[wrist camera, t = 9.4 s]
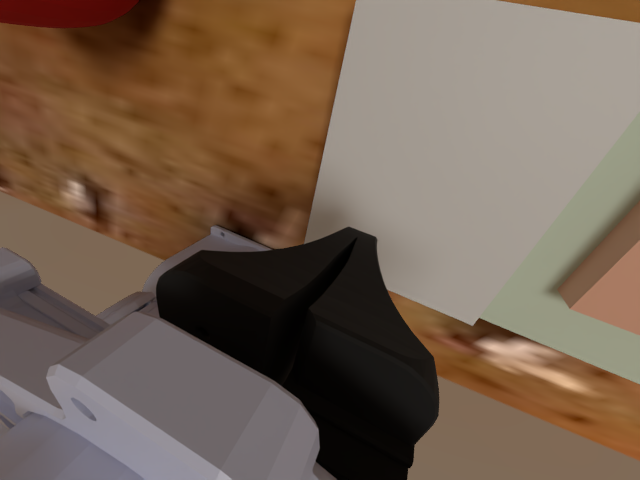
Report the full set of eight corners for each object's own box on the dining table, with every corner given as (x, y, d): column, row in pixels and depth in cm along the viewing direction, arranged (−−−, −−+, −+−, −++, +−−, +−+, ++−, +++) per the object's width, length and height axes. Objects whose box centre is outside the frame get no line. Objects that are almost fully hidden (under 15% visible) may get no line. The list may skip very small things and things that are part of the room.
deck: (316, 237, 23) (301, 253, 21) (373, -1, 15) (360, -21, 12) (468, 298, 20) (472, 325, 18) (646, 47, 12) (701, 32, 9)
